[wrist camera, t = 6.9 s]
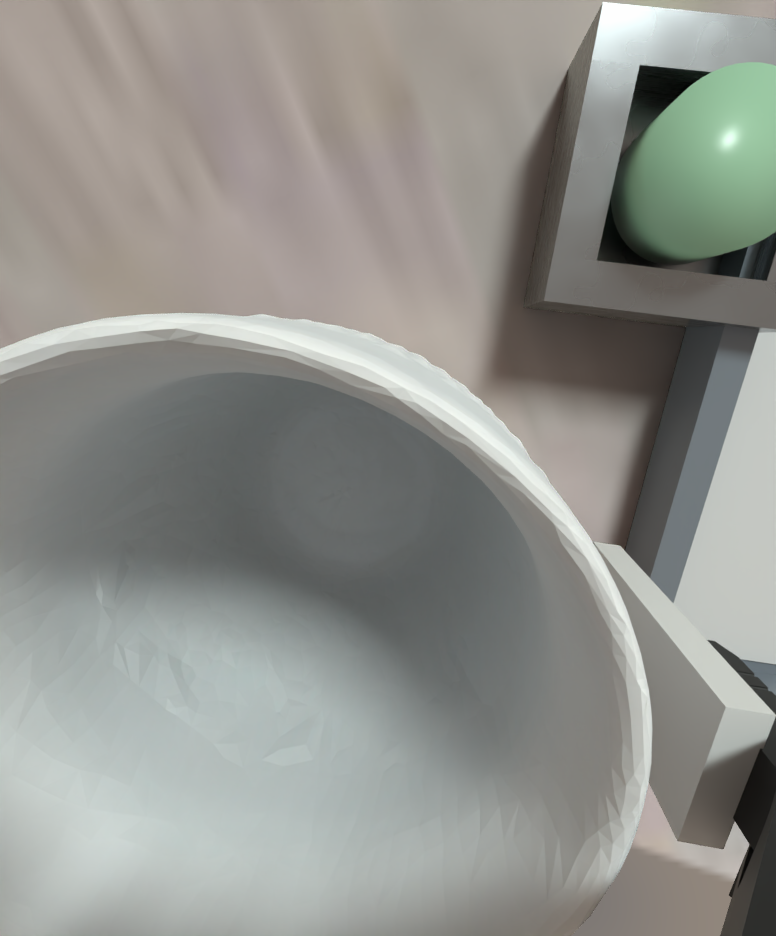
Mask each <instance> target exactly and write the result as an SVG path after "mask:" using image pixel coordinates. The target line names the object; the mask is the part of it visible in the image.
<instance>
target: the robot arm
mask: <svg viewBox="0 0 776 936" xmlns="http://www.w3.org/2000/svg"><path fill="white" fill-rule="evenodd" d="M593 544H594V545H595V547H596V549H597V550H598V552H599V553H600V555H601V557H602V558H603V560H604V562H605V564H606V566H607V568H608V570H609V572H610V574H611V576H612V578H613V580H614V582H615V584H616V586H617V588H618V590H619V593H620V595H621V597H622V600H623V602H624V604H625V607H626V609H627V612H628V615H629V618H630V621H631V624H632V627H633V630H634V633H635V636H636V639H637V642H638V646H639V649H640V652H641V656H642V661H643V665H644V670H645V674H646V679H647V684H648V688H649V696H650V703H651V713H652V757H651V769H650V776H649V784H650V786H651V788H652V790H653V792H654V794H655V796H656V798H657V800H658V802H659V804H660V806H661V808H662V810H663V812H664V814H665V816H666V818H667V820H668V822H669V825H670V827H671V829H672V831H673V833H674V835H675V837H676V839H677V841H681V842H686V843H692V844H697V845H703V846H708V847H714V848H719V849H724V846H725V844H726V841H727V839H728V836H729V834H730V831H731V829H732V826H733V824H734V821H735V822H736V823H737V825H738V827H739V828H740V830H741V831H742V833H743V834H744V836H745V838H746V839H747V841H748V842H749V844H750V845H749V847H748V850H747V852H746V855H745V857H744V859H743V862H742V864H741V867H740V869H739V872H738V874H737V876H736V879H735V881H734V884H733V886H732V889H731V891H730V894H729V896H730V897H732V899H731V902H730V905H729V909H728V912H727V915H726V919H725V922H724V925H723V928H722V932H721V935H720V936H776V695H775V694H774V693H773V692H772V691H768V687H767V686H766V685H765V684H764V683H763V682H762V681H761V680H760V679H759V678H758V677H755V676H754V673H753V672H752V671H751V670H750V669H749V668H748V667H747V665H746V664H745V663H744V662H743V661H742V660H741V659H740V658H739V657H738V656H736V655H735V654H733V653H732V652H730V651H729V650H727V649H726V648H724V647H723V646H721V645H720V644H718V643H717V642H715V641H711V640H706V639H705V637H704V636H703V635H702V634H701V633H700V632H699V631H698V630H697V629H696V628H695V627H694V626H693V624H692V623H691V622H690V621H689V620H688V619H687V618H686V617H685V616H684V615H683V614H682V612H681V611H680V610H679V609H678V608H677V607H676V606H675V605H674V604H673V603H672V602H671V601H670V599H669V598H668V597H667V596H666V595H665V594H664V593H663V592H662V591H661V590H660V589H659V588H658V586H657V585H656V584H655V583H654V582H653V581H652V580H651V579H650V578H649V577H648V576H647V574H646V573H645V572H644V571H643V570H642V569H641V568H640V567H639V566H638V565H637V564H636V563H635V561H634V560H633V559H632V558H631V557H630V556H629V555H628V554H627V553H626V552H625V551H624V550H623V548H622V547H621V546H619V545H613V544H606V543H599V542H593Z"/></svg>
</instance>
